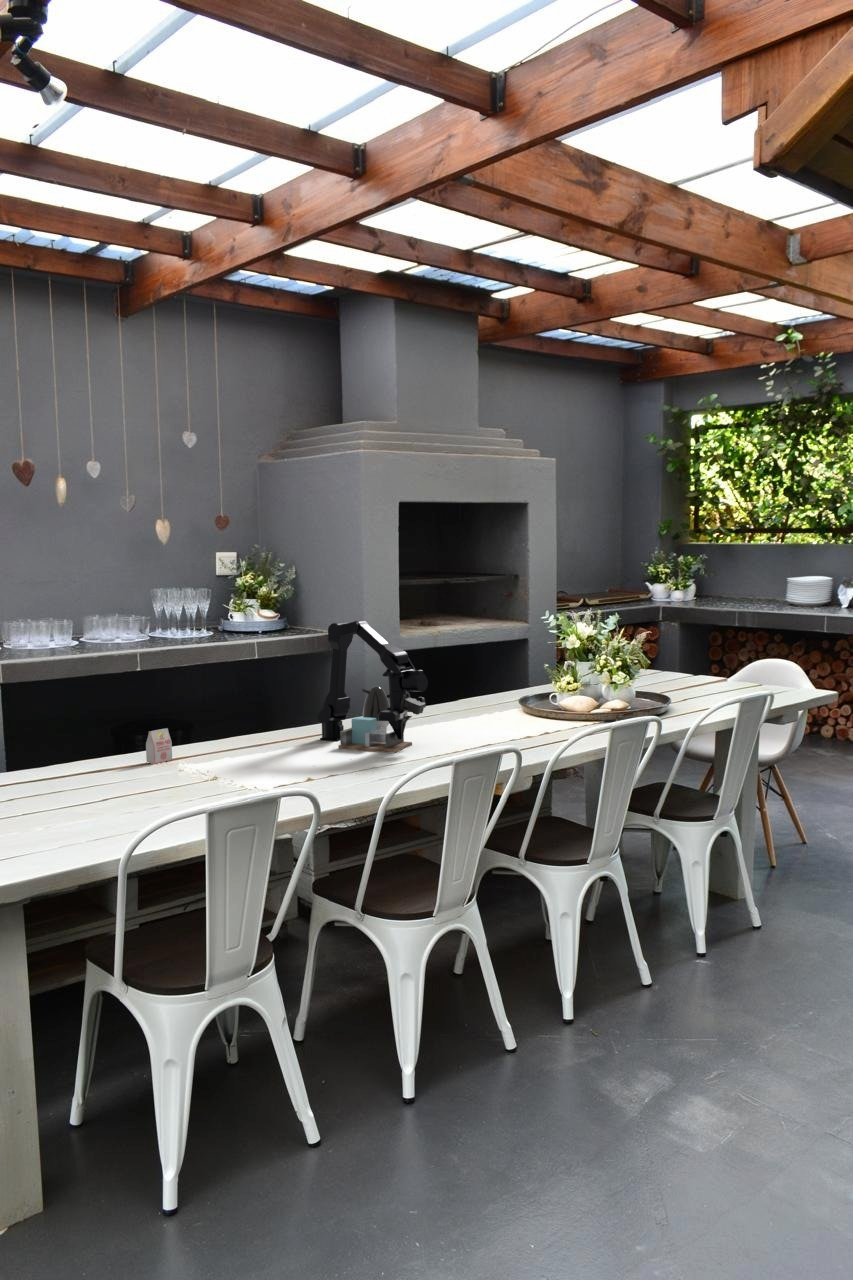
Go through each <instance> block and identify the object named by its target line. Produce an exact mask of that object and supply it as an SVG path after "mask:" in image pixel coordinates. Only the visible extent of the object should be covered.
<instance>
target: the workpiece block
mask: <svg viewBox="0 0 853 1280" xmlns="http://www.w3.org/2000/svg"><path fill="white" fill-rule="evenodd" d="M351 728H352V743H354V744H365V733H367V732H370V731H372V730H375V729H377V720H376V718H366V717H363V716H356V717H354V718H351Z"/></svg>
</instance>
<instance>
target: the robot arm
mask: <svg viewBox="0 0 853 1280" xmlns="http://www.w3.org/2000/svg"><path fill="white" fill-rule="evenodd" d="M354 635H357V636H358V637H359V638H360V639H361V640H363V641H364V643H365V644H367V645H368V646H369V647H370V648H371V649H372V650H373V651H374V652H375V653H376V654H377V655H378V656H379V659H380V660H379V661H381V664H383V666H384V667H385V668H386V671H385V672H384V673H382V677H387V680H388V694H386V695H387V698H388V701H389V704H390V707H387V710H384V711H381V712H380V713H379V714H378V721H388V722H389V725H390V726H391V729H392V730H393V731H394V732H395V734H396V736H397V738H398V739H402V738H403V734H404V733H405V729H406V725H407V722H408V721H409V720H410V719H411V718H412V717H413V716H412V715H409V714H408V713H412V714H413V715H421V714H423V712H424V709H425V708H426V707H427V705H426V704H427V703H426V699H425V697H422V696H418V697H417V698H412V697H411V694H410V692H420V693H424V692H425V691H426V690H427V688H428V686H429V680H428V678H427V676H426V674H425V673H424V670H423V669H416V668H415V666H414V665H413V663H412V661H411V659H410V658H409V655H408V652H406V651H405V650H403V649H402V648H400V647H398V646H396V645H392V644H391V643H389V642H388V641H387V640H386V639H385V638H384V637H382V636H381V635H380V634H379V633H378V632H377V631H376V630H375V629H374V628H373V627H372V626H370V625H369V622H367V621H366V620H362V619H359V620H354V621H352V622H349V621H342V622H341V621H340V622H333V623H331V624H330V625H329V626H328V628H327V640H328V643H329V645H330V647H331V663H330V664H331V665H330V679H329V680H330V681H329V691H328V692H327V694H326V696H325V698H324V702H323V706H322V709H321V710H320V711H319V713H318V714H317V715H316V718H317V721H318V723H321V737H320V738H319V740H322V741H334V742H335V741H339V740H340V731H343V730H345V729H344V724H343V721H345V720H346V718H347V715H348V713H349V711H350V709H351V705H350V704H351V696H347V694H346V691H345V689H346V686H345V685H346V671H347V657H348V649H349V647H350V646H351V644H352V642H353V638H354Z"/></svg>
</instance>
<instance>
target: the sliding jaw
mask: <svg viewBox="0 0 853 1280" xmlns="http://www.w3.org/2000/svg"><path fill="white" fill-rule="evenodd" d="M404 740H405V736H404V734H403V738H402V739H398V738H397V736H396V734H395V732H394V730H393V731H390V732H387V727H380V728H378V729H375V730H372V731H370V732H367V733H365V747H371V746H374V745H376V744H379V743H381V742H386V748H390V747H393V746H395V745H398V744H400V743H402V742H405V741H404Z"/></svg>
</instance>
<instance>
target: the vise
mask: <svg viewBox="0 0 853 1280" xmlns="http://www.w3.org/2000/svg"><path fill="white" fill-rule="evenodd" d="M339 742H340V744H339V745H338V749H340V750H352V751H362V752H363V751H365V752H366V751H367V752H376V751H379V752H380V753H389V752H395V753H397V751H398V752H399V750H400V751H402V750H405V749H406V747H407V748H409V747H412V746H413V742H412V741H404V742H402V743H400V744H398V745H395V746H393V747H390V748H386V742H381V743H379V744H376V745H374V746H371V747H365V744H354V743H352V727H349V728H346V729H344V730H343V731H340V741H339ZM408 746H409V747H408ZM401 749H402V750H401ZM379 752H378V753H379Z"/></svg>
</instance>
